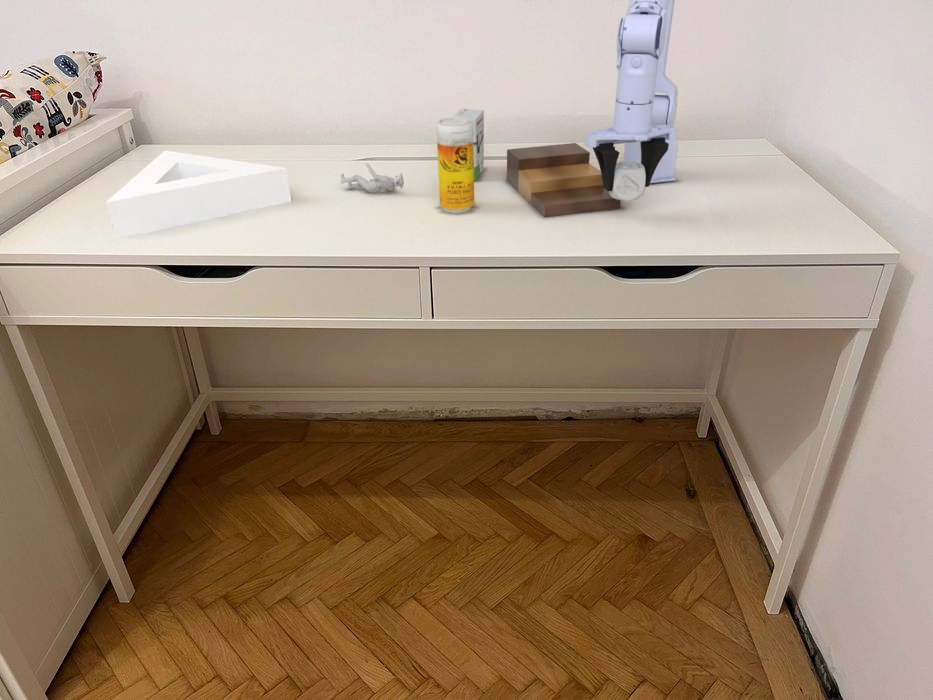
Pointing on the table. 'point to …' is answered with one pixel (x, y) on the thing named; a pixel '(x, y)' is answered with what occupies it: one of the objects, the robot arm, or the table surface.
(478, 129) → the ink box
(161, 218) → the triangle block
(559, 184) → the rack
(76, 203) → the table surface
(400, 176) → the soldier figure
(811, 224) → the table surface
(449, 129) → the beer can
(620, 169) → the die
